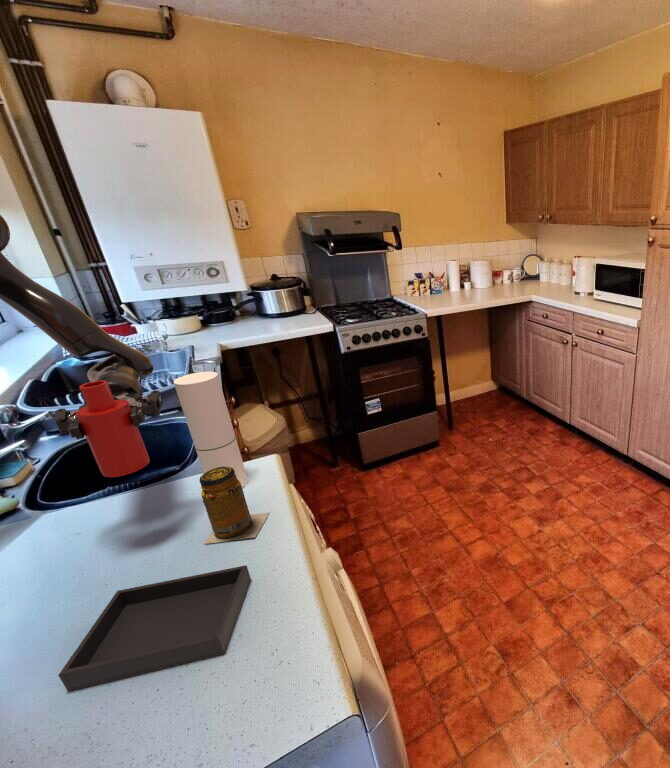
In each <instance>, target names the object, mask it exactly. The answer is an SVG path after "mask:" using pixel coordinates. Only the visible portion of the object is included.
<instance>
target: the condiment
mask: <svg viewBox="0 0 670 768" xmlns="http://www.w3.org/2000/svg"><path fill="white" fill-rule="evenodd" d="M199 483H200V488H201V493H200V495H201V499H202V502H203V506H204V507H205V512H206V514H207V517H208V520H209V523H210V525H211V529H212V533H211V534H210V535H209V536H208V538H207V539H206V540H205V542H204V543H203V544H204V545H205V544H217V543H224V542H232V541H238V540H239V541H240V540H246V539H252V538H256V537H257V535H258V534H259V532H260V530H261V529H262V528H263V525H264V524H265V522H266V520H267V518H268V516H269V514H270V512H263V513H262V512H261V513H250V510H249V505H248V503H247V499H246V497H245V493H244V491H243V489H244V488H242V486H241V483H240V481H239V480H238V479H237V477H236V475H235V471H234V469H233V468H231V467H226V466H223V467H218V468H214V469H211V470H209V471H207V472H205V473H202V475H200V477H199Z"/></svg>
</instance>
